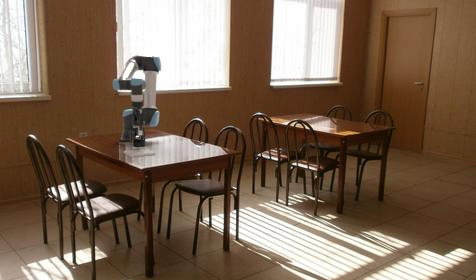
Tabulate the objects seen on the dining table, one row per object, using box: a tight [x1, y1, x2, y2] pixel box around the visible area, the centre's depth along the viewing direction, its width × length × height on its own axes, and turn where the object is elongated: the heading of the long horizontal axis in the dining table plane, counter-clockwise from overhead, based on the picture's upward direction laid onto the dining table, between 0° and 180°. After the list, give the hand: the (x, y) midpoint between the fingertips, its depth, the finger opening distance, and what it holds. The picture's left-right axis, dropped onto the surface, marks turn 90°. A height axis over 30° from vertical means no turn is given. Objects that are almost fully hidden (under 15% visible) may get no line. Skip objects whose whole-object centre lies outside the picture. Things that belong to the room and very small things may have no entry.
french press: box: [129, 113, 147, 148], centre depth 316 cm, size 12×9×23 cm
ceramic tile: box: [123, 148, 156, 158], centre depth 306 cm, size 14×16×2 cm
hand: (138, 133), depth 317 cm, fingers closed on french press, 9 cm apart
